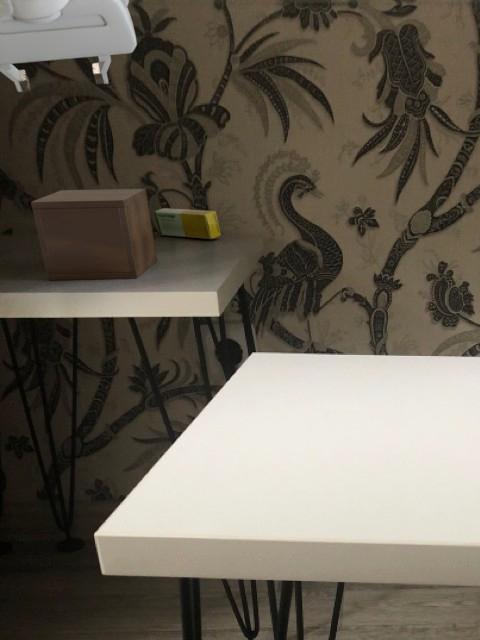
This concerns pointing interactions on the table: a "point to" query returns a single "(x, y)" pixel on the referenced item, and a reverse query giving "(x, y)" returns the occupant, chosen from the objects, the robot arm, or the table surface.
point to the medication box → (187, 223)
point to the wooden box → (95, 234)
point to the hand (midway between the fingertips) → (63, 84)
